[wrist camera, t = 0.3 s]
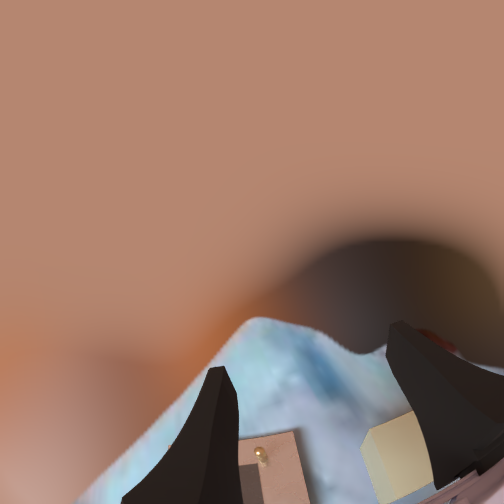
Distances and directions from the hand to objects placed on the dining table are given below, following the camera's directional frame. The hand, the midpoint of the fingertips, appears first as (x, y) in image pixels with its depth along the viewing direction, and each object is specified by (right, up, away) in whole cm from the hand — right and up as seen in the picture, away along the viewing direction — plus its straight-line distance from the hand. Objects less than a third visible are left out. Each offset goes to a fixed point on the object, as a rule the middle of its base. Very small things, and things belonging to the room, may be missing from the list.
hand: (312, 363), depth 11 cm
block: (+12, -18, +8) cm, 22 cm away
